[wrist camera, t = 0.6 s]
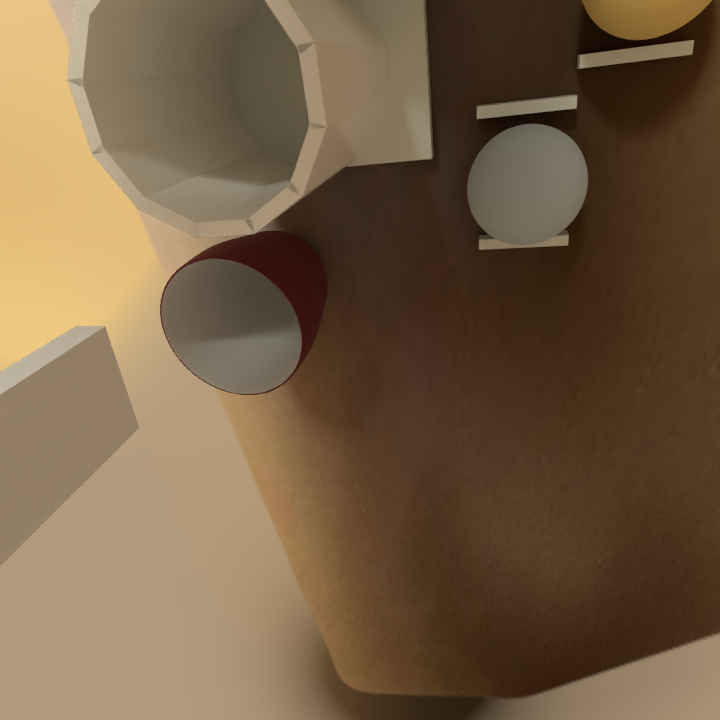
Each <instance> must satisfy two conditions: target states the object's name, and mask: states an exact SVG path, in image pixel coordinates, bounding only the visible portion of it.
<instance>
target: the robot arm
mask: <svg viewBox="0 0 720 720" xmlns="http://www.w3.org/2000/svg"><path fill="white" fill-rule="evenodd" d="M138 429H139V426H138V423H137V420H136V417H135V414H134V411H133V409H132V405H131V402H130V399H129V396H128V394H127V390H126V388H125V384H124V381H123V378H122V376H121V373H120V370H119V367H118V364H117V361H116V358H115V355H114V352H113V349H112V346H111V343H110V340H109V337H108V334H107V331H106V328H105V326H76V327H74V328H72V329H70V330H69V331H67V332H66V333H64V334H62V335H61V336H59V337H57V338H56V339H54V340H52V341H51V342H49V343H47V344H46V345H44V346H42V347H41V348H39V349H38V350H36V351H34V352H33V353H31V354H29V355H28V356H26V357H24V358H23V359H21V360H19V361H18V362H16V363H15V364H13V365H11V366H9V367H8V368H6V369H5V370H3V371H1V372H0V565H1V564H2V563H3V562H4V561H5V560H7V559H8V557H10V556H11V555H12V554H13V552H15V550H17V548H19V547H20V546H21V545H22V544H23V543H24V542H25V541H26V540H27V539H28V538H29V537H30V536H31V535H32V534H33V533H34V532H35V531H36V530H37V529H38V528H39V527H40V526H41V525H42V524H43V523H44V522H45V521H46V520H47V519H48V518H49V517H50V516H51V515H52V514H53V513H54V512H55V511H56V510H57V509H58V508H59V507H60V506H61V505H62V504H63V503H64V502H65V501H66V500H67V499H68V498H69V497H70V496H71V495H72V494H73V493H74V492H75V491H76V490H77V489H78V488H79V487H80V486H81V485H82V484H83V483H84V482H85V481H86V480H87V479H88V478H89V477H90V476H91V475H92V474H93V473H94V472H95V471H96V470H97V469H98V468H99V467H100V466H101V465H102V464H103V463H104V462H105V461H106V460H107V459H108V458H109V457H110V456H111V455H112V454H113V453H114V452H115V451H116V450H117V449H118V448H119V447H120V446H121V445H122V444H123V443H124V442H125V441H126V440H128V439H129V437H131V435H133V433H134V432H135V431H136V430H138Z"/></svg>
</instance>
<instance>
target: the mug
mask: <svg viewBox="0 0 720 720" xmlns="http://www.w3.org/2000/svg"><path fill="white" fill-rule="evenodd" d="M327 289H328V287H327V276H326V272H325V268H324V266H323V263H322V261H321V259H320V257H319V256H318V254H317V253H316V252H315V250H314V249H313V248H312V247H311V246H310V245H309V244H307V243H306V242H305V241H303V240H302V239H300V238H298V237H296V236H294V235H292V234H289V233H285V232H280V231H264V232H258V233H255V234H251V235H247V236H243V237H240V238H236V239H232V240H229V241H225V242H222V243H219V244H217V245H214V246H212V247H210V248H208V249H206V250H205V251H203V252H201V253H200V254H198V255H197V256H195V257H194V258H193V259H191V260H190V261H188V262H187V263H186V264H184V265H183V266H182V267H180V268H179V269H178V270H177V271H176V272H175V273H174V274H173V275H172V276H171V278H170V279H169V281H168V282H167V284H166V286H165V289H164V291H163V294H162V298H161V305H160V315H161V322H162V327H163V330H164V334H165V336H166V338H167V340H168V343H169V345H170V347H171V348H172V350H173V352H174V353H175V355H176V356H177V357H178V358H179V360H180V361H181V362H182V363H183V365H184V366H186V368H187V369H189V370H190V371H191V372H192V373H193V374H194V375H195V376H197V377H198V378H199V379H201V380H202V381H204V382H206V383H207V384H209V385H211V386H213V387H215V388H218V389H220V390H223V391H226V392H229V393H234V394H240V395H256V394H262V393H267V392H270V391H272V390H274V389H276V388H278V387H280V386H281V385H283V384H284V383H285V382H287V381H288V380H289V379H290V378H291V377H292V376H293V374H294V373H295V372H296V370H297V369H298V367H299V366H300V365H301V363H302V362H303V360H304V359H305V357H306V356H307V354H308V352H309V351H310V349H311V347H312V345H313V343H314V340H315V338H316V335H317V332H318V329H319V325H320V321H321V317H322V313H323V309H324V306H325V302H326V297H327Z"/></svg>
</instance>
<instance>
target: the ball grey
mask: <svg viewBox="0 0 720 720" xmlns="http://www.w3.org/2000/svg"><path fill="white" fill-rule="evenodd" d="M587 187H588V171H587V166H586V162H585V159H584V157H583V154H582V152H581V150H580V149H579V147H578V146H577V144H576V143H575V142H574V141H573V140H572V139H571V138H570V137H569V136H568V135H566V134H565V133H563V132H562V131H560V130H558V129H556V128H553V127H551V126H547V125H542V124H524V125H518V126H515V127H512V128H509V129H507V130H505V131H503V132H501V133H500V134H498V135H496V136H495V137H494V138H493V139H491V140H490V141H489V142H488V143H487V144H486V145H485V146H484V147H483V149H482V150H481V151H480V152H479V154H478V155H477V157H476V159H475V160H474V162H473V165H472V167H471V170H470V173H469V177H468V183H467V196H468V203H469V207H470V210H471V212H472V215H473V216H474V218H475V220H476V221H477V223H478V224H479V226H480V227H481V228H482V229H483V230H484V231H485V232H486V233H488V234H489V235H490V236H492V237H493V238H495V239H497V240H499V241H502V242H504V243H508V244H513V245H532V244H536V243H540V242H543V241H546V240H548V239H550V238H552V237H554V236H556V235H557V234H559V233H560V232H562V231H563V230H564V229H565V228H566V227H567V226H568V225H569V224H570V223H571V222H572V221H573V220H574V218H575V217H576V216H577V214H578V212H579V211H580V209H581V207H582V205H583V202H584V200H585V196H586V193H587Z"/></svg>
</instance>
